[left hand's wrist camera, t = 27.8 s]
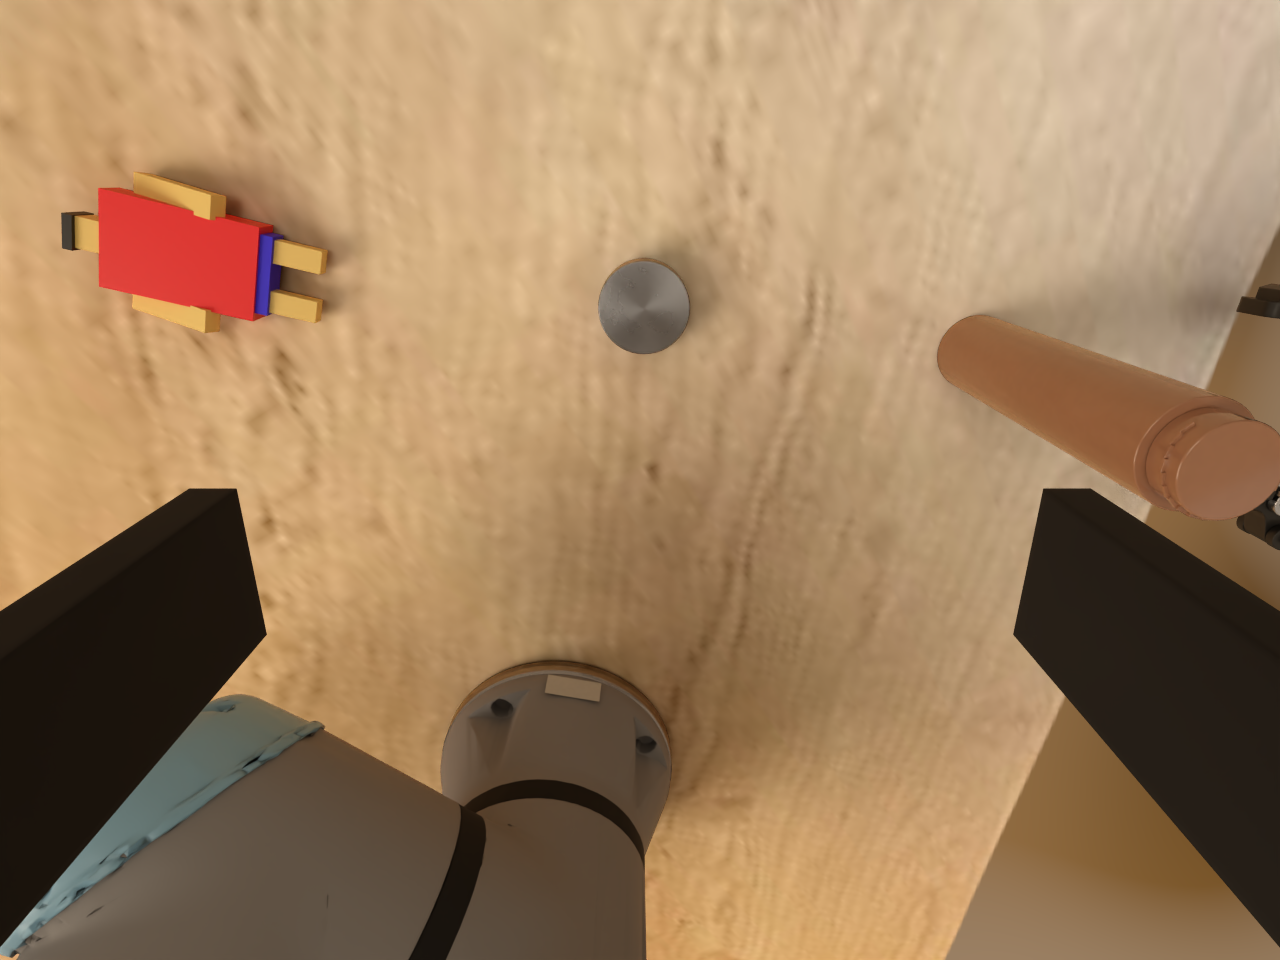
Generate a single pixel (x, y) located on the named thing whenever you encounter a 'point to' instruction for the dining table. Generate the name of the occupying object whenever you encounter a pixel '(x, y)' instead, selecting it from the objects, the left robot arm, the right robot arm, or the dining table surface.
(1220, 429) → the brown capped cylinder
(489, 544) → the dining table surface
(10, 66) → the dining table surface
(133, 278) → the toy figure
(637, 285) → the lid
